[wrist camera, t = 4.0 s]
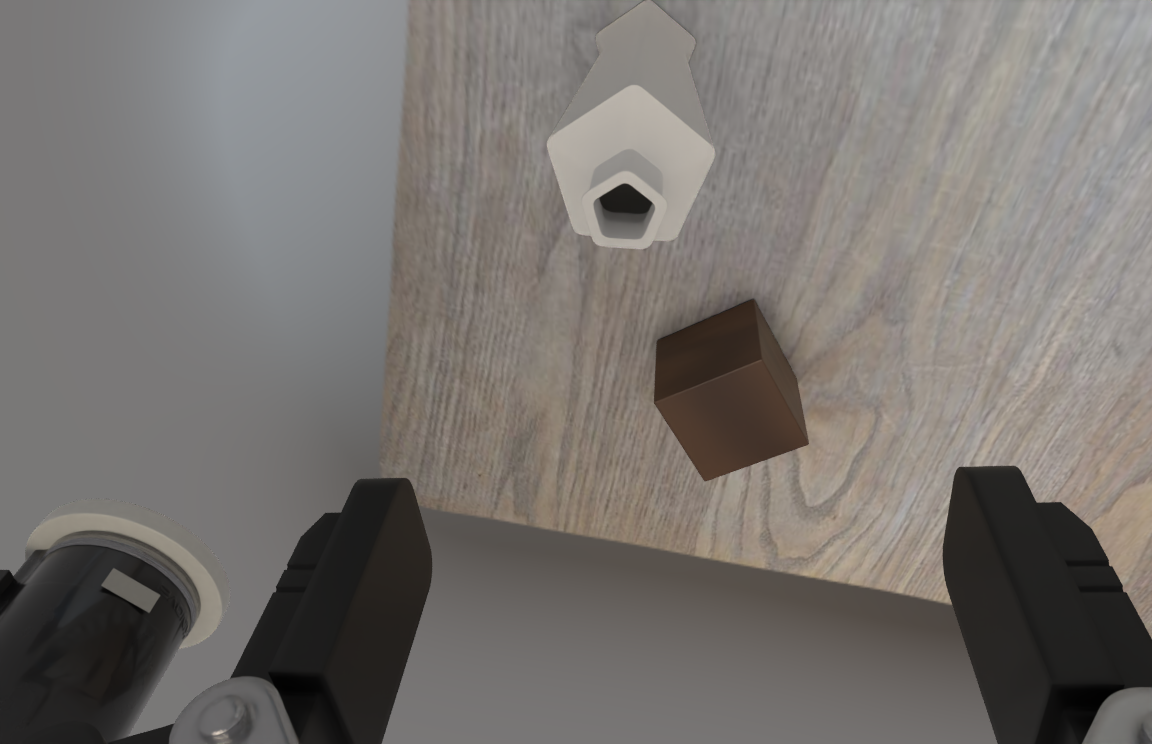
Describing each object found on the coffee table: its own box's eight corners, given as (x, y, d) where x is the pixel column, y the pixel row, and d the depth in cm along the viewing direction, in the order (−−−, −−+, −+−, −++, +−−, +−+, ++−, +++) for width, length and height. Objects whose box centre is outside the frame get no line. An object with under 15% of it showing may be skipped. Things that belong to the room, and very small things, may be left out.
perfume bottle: (716, 96, 35) (736, 273, 23) (610, 123, 36) (573, 307, 24) (692, -24, 32) (698, 100, 20) (579, 9, 33) (519, 146, 21)
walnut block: (702, 415, 44) (704, 482, 40) (656, 340, 42) (653, 402, 37) (797, 379, 42) (809, 444, 38) (753, 298, 40) (762, 358, 36)
